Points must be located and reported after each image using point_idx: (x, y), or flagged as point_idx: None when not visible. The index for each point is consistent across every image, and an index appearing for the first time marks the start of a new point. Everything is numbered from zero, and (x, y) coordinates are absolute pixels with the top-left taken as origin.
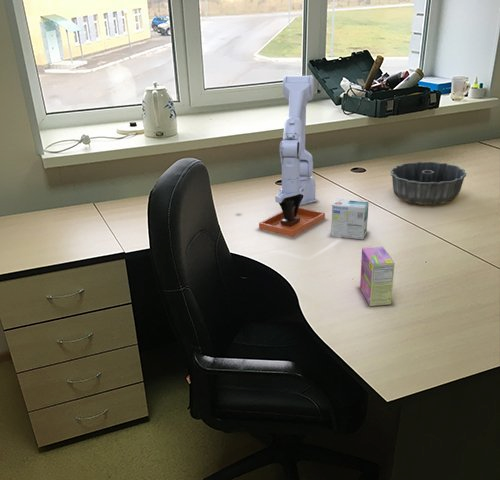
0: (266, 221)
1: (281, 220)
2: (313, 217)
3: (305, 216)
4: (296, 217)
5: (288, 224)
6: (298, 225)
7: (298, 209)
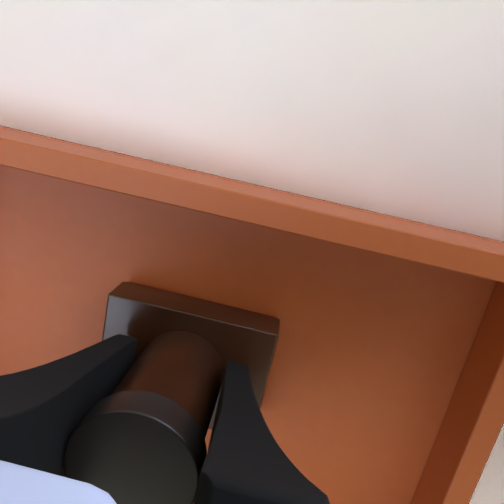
0: (7, 163)
1: (108, 300)
2: (405, 487)
3: (412, 418)
4: None
5: None
6: None
7: (493, 358)
